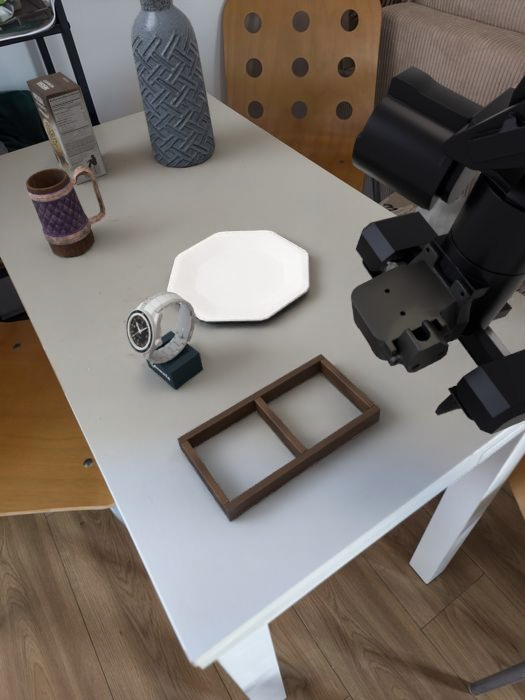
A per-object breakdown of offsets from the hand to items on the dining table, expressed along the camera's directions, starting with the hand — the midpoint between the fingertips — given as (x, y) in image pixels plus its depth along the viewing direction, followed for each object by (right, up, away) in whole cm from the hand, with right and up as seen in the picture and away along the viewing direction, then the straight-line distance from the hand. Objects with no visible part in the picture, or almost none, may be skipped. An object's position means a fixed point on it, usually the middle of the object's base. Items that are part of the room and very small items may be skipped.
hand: (411, 368), depth 46 cm
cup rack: (-11, -8, +10) cm, 17 cm away
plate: (-16, +12, +28) cm, 35 cm away
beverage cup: (+8, +8, +22) cm, 25 cm away
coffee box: (-48, +36, +53) cm, 80 cm away
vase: (-28, +40, +55) cm, 74 cm away
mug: (-42, +19, +37) cm, 59 cm away
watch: (-24, -1, +18) cm, 30 cm away
